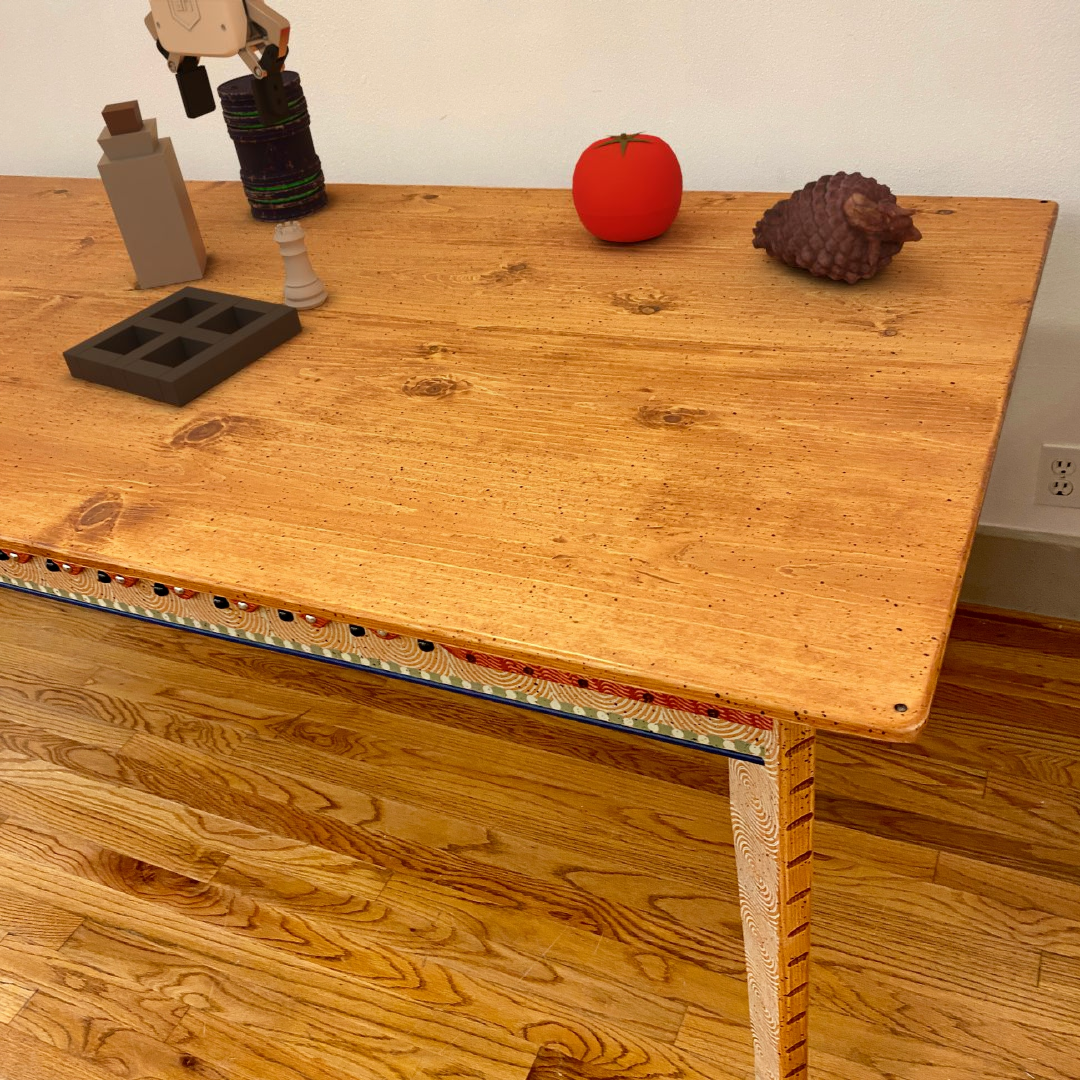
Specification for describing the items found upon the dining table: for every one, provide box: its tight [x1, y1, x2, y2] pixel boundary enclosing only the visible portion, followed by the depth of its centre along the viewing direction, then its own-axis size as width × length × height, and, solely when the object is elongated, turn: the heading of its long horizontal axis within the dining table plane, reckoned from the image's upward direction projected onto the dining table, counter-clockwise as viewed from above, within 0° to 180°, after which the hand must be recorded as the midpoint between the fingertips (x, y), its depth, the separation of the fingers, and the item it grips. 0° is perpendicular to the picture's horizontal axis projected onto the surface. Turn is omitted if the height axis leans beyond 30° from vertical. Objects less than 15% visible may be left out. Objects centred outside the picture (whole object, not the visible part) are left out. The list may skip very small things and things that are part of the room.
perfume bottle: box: [96, 99, 208, 290], centre depth 116 cm, size 7×7×18 cm
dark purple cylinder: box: [216, 69, 330, 223], centre depth 131 cm, size 10×10×15 cm
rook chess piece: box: [272, 220, 328, 311], centre depth 108 cm, size 4×4×8 cm
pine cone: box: [751, 170, 924, 285], centre depth 99 cm, size 18×10×10 cm
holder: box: [61, 285, 303, 407], centre depth 103 cm, size 16×16×2 cm
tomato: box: [571, 130, 684, 243], centre depth 111 cm, size 11×12×10 cm
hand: (238, 118), depth 100 cm, fingers open, 9 cm apart
